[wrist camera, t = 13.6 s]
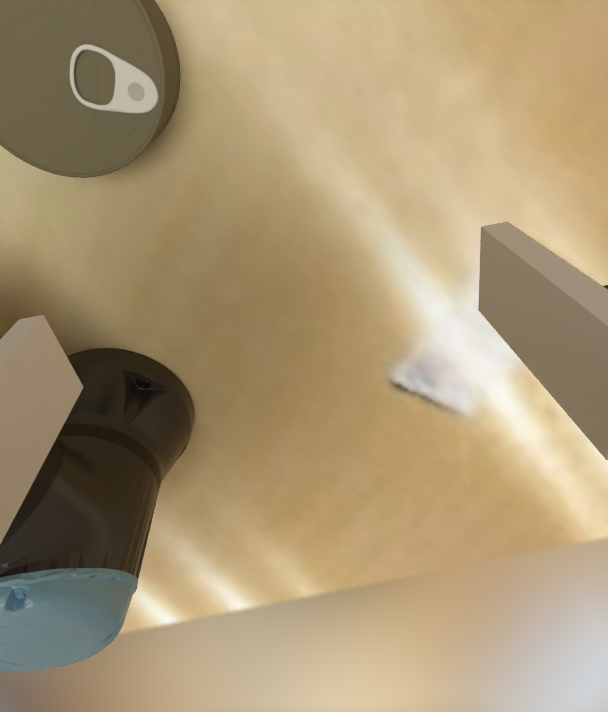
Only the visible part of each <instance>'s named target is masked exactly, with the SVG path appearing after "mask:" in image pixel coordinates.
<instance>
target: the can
mask: <svg viewBox="0 0 608 712" xmlns="http://www.w3.org/2000/svg"><path fill="white" fill-rule="evenodd" d="M179 88H180V64H179V57H178V52H177V48H176V44H175V40H174V37H173V34H172V32H171V29H170V27H169V25H168V22H167V20H166V19H165V17H164V15H163V13H162V11H161V10H160V8H159V6H158V5H157V3H156V2H155V1H154V0H0V145H1V146H2V147H4V148H5V149H6V150H8V151H9V152H10V153H12V154H13V155H15V156H16V157H18V158H20V159H21V160H23V161H25V162H27V163H29V164H31V165H33V166H35V167H37V168H39V169H42V170H44V171H47V172H51V173H54V174H58V175H62V176H69V177H83V178H84V177H95V176H101V175H105V174H108V173H112V172H114V171H116V170H119V169H121V168H122V167H124V166H126V165H127V164H129V163H130V162H132V161H133V160H134V159H135V158H137V157H138V156H139V155H140V154H141V153H142V152H143V150H144V149H145V148H146V147H147V146H148V144H149V143H150V142H151V141H152V140H154V139H155V138H156V137H157V136H158V135H159V134H160V133H161V131H162V130H163V129H164V128H165V126H166V125H167V123H168V122H169V120H170V118H171V116H172V114H173V112H174V109H175V107H176V103H177V100H178V95H179Z"/></svg>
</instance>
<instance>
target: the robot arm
mask: <svg viewBox="0 0 608 712" xmlns="http://www.w3.org/2000/svg"><path fill="white" fill-rule="evenodd" d="M479 311H480V312H481V314H482V315H483V316H484V317H485V318H486V319H487V321H488V322H489V323H490V324H491V325H492V326H493V328H494V329H495V330H496V331H497V332H498V333H499V335H500V336H501V337H502V338H503V339H504V340H505V342H506V343H507V344H508V345H509V346H510V348H511V349H512V350H513V351H514V352H515V353H516V355H517V356H518V357H519V358H520V359H521V360H522V362H523V363H524V364H525V365H526V366H527V367H528V369H529V370H530V371H531V372H532V373H533V374H534V376H535V377H536V378H537V379H538V380H539V381H540V383H541V384H542V385H543V386H544V387H545V388H546V390H547V391H548V392H549V393H550V394H551V396H552V397H553V398H554V399H555V400H556V401H557V403H558V404H559V405H560V406H561V407H562V408H563V410H564V411H565V412H566V413H567V414H568V415H569V417H570V418H571V419H572V420H573V421H574V422H575V424H576V425H577V426H578V427H579V428H580V429H581V431H582V432H583V433H584V434H585V435H586V437H587V438H588V439H589V440H590V441H591V442H592V444H593V445H594V446H595V447H596V448H597V449H598V451H599V452H600V453H601V454H602V455H603V456H604V458H605V459H606V460H608V285H606V286H602V285H600V284H599V283H597V282H596V281H594V280H593V279H592V278H590V277H589V276H587V275H586V274H584V273H583V272H581V271H580V270H578V269H577V268H575V267H574V266H572V265H571V264H569V263H568V262H566V261H565V260H563V259H562V258H560V257H559V256H558V255H556V254H555V253H553V252H552V251H550V250H549V249H547V248H546V247H544V246H543V245H541V244H540V243H538V242H537V241H535V240H534V239H532V238H531V237H529V236H528V235H527V234H525V233H524V232H522V231H521V230H519V229H518V228H516V227H515V226H513V225H512V224H510V223H509V222H503V223H498V224H493V225H488V226H483V227H481V247H480V280H479ZM193 423H194V407H193V403H192V400H191V397H190V395H189V393H188V391H187V390H186V388H185V386H184V385H183V384H182V383H181V381H180V380H179V379H178V378H177V377H176V376H175V375H174V374H173V373H172V372H170V371H169V370H168V369H167V368H165V367H164V366H162V365H161V364H159V363H157V362H155V361H153V360H152V359H149V358H147V357H145V356H142V355H139V354H136V353H133V352H129V351H124V350H117V349H94V350H88V351H83V352H79V353H76V354H74V355H71V356H69V357H67V356H66V354H65V353H64V351H63V349H62V347H61V345H60V344H59V342H58V340H57V338H56V336H55V335H54V333H53V331H52V329H51V327H50V325H49V324H48V322H47V320H46V318H45V316H44V315H39V316H34V317H29V318H24V319H19V320H18V321H17V322H16V323H15V324H14V325H13V326H12V327H11V329H10V330H9V331H8V332H7V333H6V334H5V335H4V336H3V337H2V338H1V340H0V671H28V670H31V671H32V670H42V669H50V668H55V667H60V666H65V665H69V664H73V663H76V662H79V661H82V660H84V659H87V658H89V657H91V656H93V655H95V654H97V653H98V652H100V651H101V650H103V649H104V648H105V647H106V646H108V645H109V644H110V643H111V642H112V641H113V640H114V639H115V637H116V636H117V635H118V633H119V631H120V630H121V628H122V626H123V623H124V620H125V617H126V614H127V611H128V607H129V604H130V601H131V598H132V595H133V594H134V592H135V591H136V589H137V583H138V578H139V573H140V569H141V565H142V560H143V556H144V552H145V548H146V543H147V539H148V535H149V530H150V526H151V522H152V518H153V513H154V509H155V505H156V500H157V496H158V492H159V488H160V484H161V482H162V480H163V479H164V477H165V476H166V475H167V473H168V472H169V470H170V469H171V468H172V466H173V465H174V463H175V462H176V460H177V459H178V458H179V457H180V456H181V454H182V453H183V452H184V450H185V449H186V447H187V445H188V442H189V440H190V437H191V432H192V427H193Z"/></svg>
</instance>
